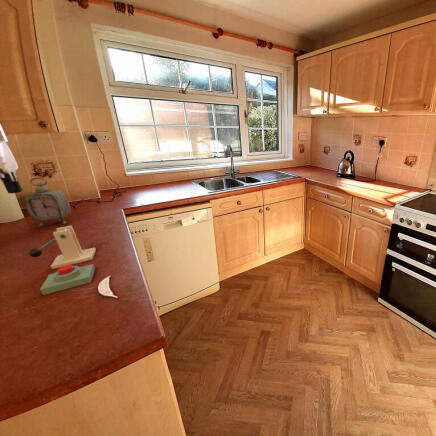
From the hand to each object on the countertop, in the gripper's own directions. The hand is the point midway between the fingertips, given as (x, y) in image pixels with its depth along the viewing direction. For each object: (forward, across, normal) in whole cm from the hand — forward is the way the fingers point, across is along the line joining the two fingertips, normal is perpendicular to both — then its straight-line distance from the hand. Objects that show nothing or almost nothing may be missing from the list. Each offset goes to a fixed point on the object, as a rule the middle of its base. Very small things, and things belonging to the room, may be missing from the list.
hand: (15, 192), depth 86 cm
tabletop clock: (+27, -46, -7) cm, 54 cm away
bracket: (+27, +7, +10) cm, 30 cm away
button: (+23, +25, +12) cm, 36 cm away
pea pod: (+27, +37, +23) cm, 52 cm away
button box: (+27, +25, +12) cm, 39 cm away
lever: (+20, +7, +6) cm, 22 cm away
